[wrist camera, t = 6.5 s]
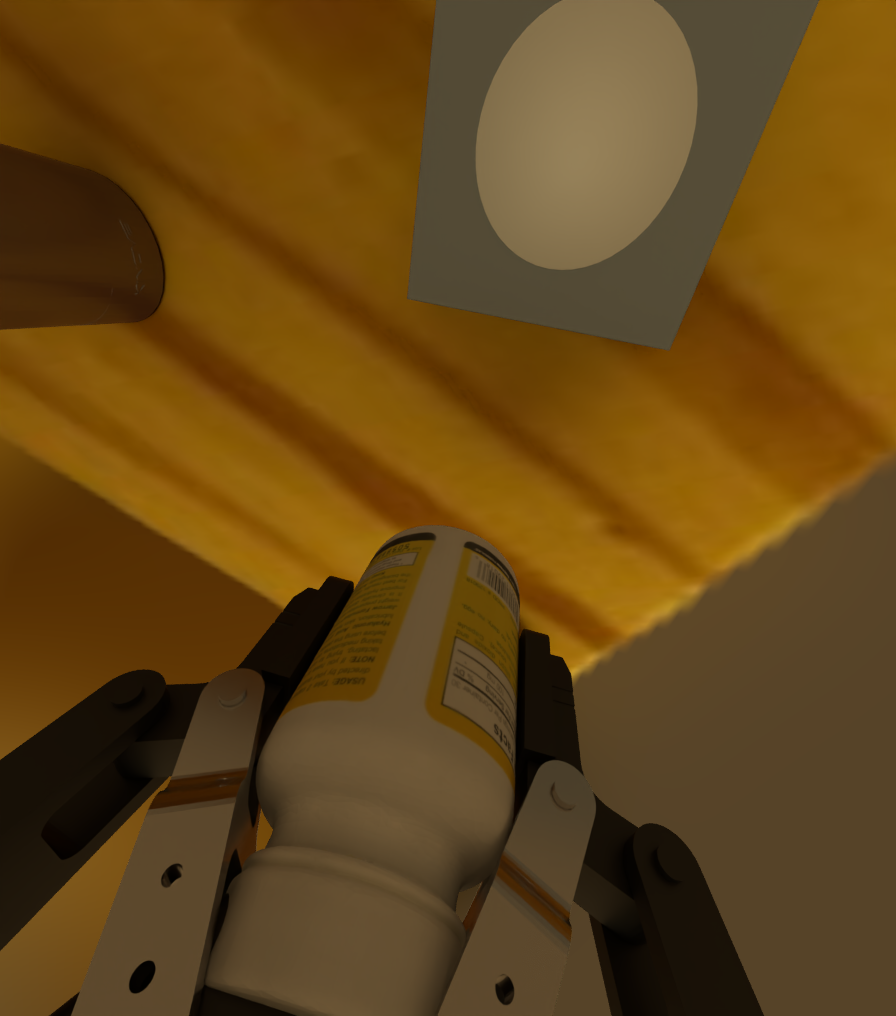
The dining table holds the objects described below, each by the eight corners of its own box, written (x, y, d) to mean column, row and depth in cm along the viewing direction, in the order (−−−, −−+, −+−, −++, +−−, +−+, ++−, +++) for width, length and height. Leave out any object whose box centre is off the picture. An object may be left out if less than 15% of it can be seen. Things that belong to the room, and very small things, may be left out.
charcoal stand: (428, 298, 25) (406, 298, 21) (469, -34, 18) (448, -145, 14) (644, 341, 24) (670, 351, 19) (777, 3, 17) (866, -105, 12)
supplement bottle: (366, 616, 15) (166, 1007, 7) (381, 501, 13) (78, 914, 4) (498, 655, 15) (457, 1117, 7) (542, 545, 12) (570, 1093, 4)
